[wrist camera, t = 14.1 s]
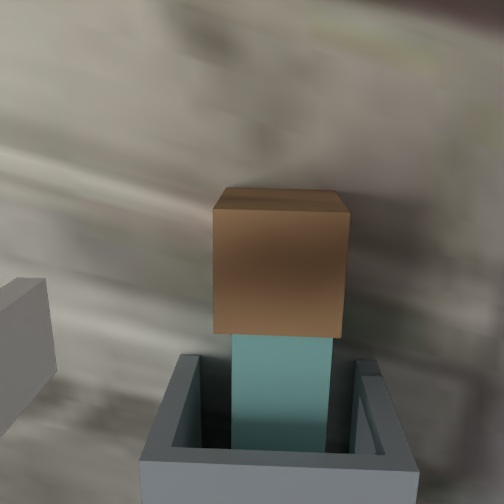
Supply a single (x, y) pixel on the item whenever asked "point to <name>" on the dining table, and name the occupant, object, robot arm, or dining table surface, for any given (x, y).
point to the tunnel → (277, 455)
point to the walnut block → (279, 262)
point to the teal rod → (280, 392)
